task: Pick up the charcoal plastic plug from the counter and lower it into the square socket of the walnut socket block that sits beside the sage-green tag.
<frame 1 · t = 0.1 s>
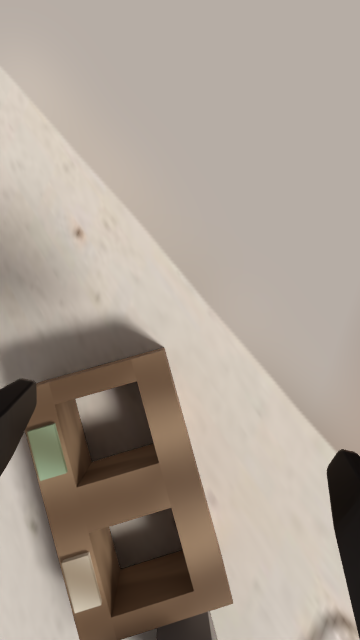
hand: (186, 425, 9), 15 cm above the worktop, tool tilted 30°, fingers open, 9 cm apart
plug: (188, 627, 24), on the worktop
socket block: (131, 470, 24), on the worktop
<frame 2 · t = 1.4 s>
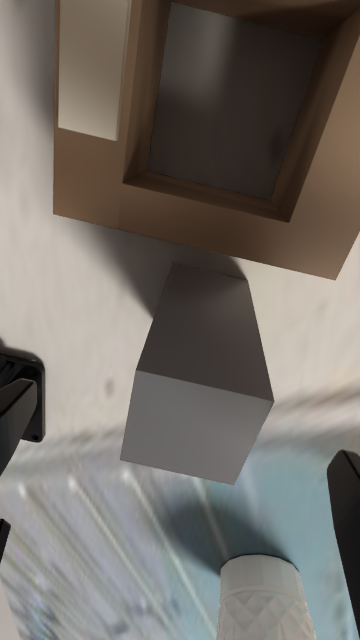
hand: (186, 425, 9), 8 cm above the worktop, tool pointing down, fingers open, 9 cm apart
white cup: (259, 570, 28), on the worktop
plug: (201, 305, 16), on the worktop
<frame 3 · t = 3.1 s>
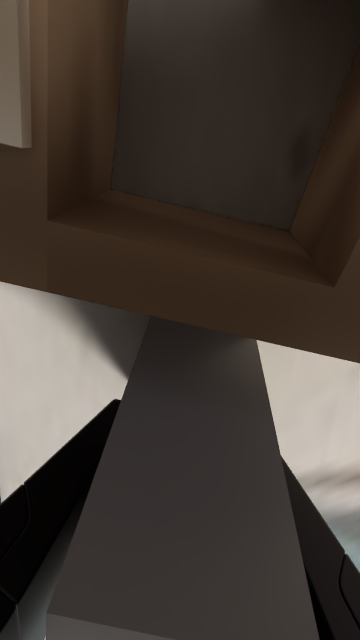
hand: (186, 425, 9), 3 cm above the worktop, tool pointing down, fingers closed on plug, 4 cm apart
plug: (192, 365, 12), on the worktop, touching gripper
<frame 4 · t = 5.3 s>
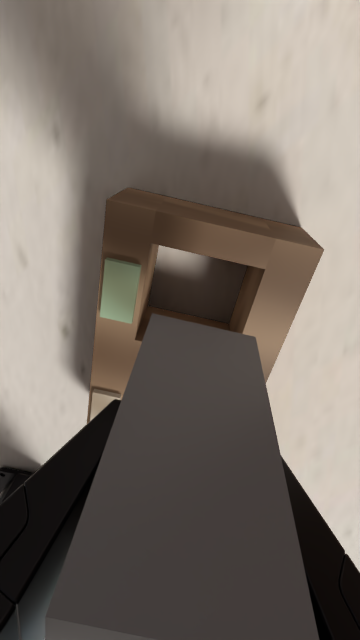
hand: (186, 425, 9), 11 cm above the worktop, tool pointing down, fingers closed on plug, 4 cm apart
plug: (192, 366, 12), point 8 cm above the worktop, touching gripper
socket block: (184, 333, 21), on the worktop
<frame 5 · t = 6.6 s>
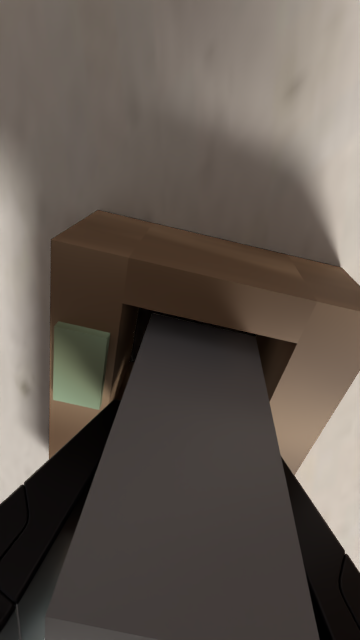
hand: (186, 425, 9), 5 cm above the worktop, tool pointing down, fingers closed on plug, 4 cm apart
plug: (192, 366, 12), point 3 cm above the worktop, touching gripper
socket block: (177, 394, 16), on the worktop
when the fingers open (5 cm above the worktop, at t = 7.6 s): plug drops 2 cm, resting in socket block.
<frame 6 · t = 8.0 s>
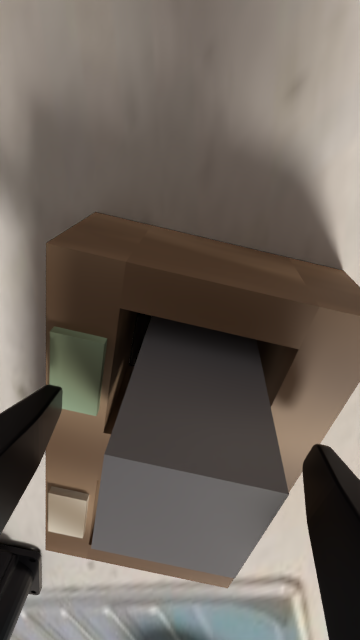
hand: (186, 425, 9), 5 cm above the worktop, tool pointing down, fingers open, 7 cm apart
plug: (195, 332, 14), resting in socket block
socket block: (176, 399, 16), on the worktop
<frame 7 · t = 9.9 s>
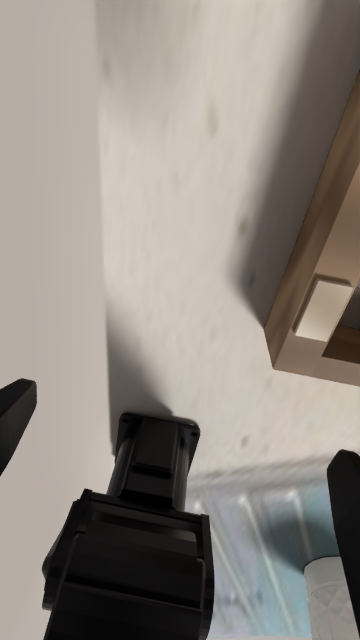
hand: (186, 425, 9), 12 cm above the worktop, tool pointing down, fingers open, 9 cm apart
white cup: (334, 568, 36), on the worktop
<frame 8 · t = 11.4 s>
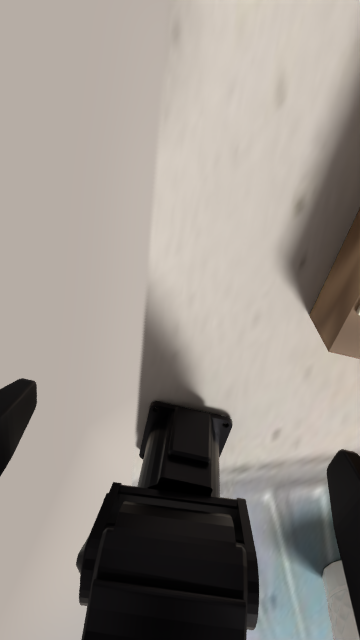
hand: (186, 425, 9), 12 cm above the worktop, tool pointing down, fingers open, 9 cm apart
white cup: (354, 571, 35), on the worktop
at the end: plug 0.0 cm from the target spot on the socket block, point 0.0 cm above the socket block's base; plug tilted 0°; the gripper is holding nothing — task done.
